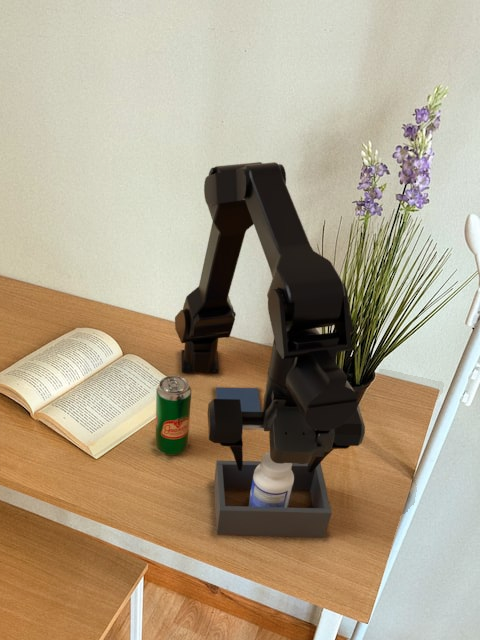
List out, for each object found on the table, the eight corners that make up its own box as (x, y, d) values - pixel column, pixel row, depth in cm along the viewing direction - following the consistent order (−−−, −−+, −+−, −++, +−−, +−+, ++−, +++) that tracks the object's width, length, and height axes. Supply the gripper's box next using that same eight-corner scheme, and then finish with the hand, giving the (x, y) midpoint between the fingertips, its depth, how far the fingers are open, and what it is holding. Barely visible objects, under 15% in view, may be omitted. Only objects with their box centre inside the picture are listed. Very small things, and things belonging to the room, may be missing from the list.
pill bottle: (260, 490, 101) (269, 441, 94) (293, 507, 98) (305, 457, 91) (240, 512, 98) (248, 462, 91) (273, 530, 95) (284, 481, 89)
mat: (215, 389, 118) (216, 387, 117) (257, 390, 117) (257, 388, 117) (217, 416, 113) (218, 413, 113) (261, 416, 113) (261, 414, 112)
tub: (213, 484, 102) (216, 460, 98) (314, 487, 101) (320, 462, 98) (216, 534, 95) (219, 510, 92) (324, 537, 94) (331, 513, 91)
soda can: (161, 460, 106) (162, 398, 97) (151, 439, 109) (152, 377, 101) (192, 453, 107) (196, 391, 98) (181, 432, 110) (184, 371, 102)
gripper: (216, 417, 76) (206, 512, 87) (388, 421, 75) (356, 516, 86) (212, 358, 84) (203, 452, 95) (368, 360, 83) (341, 455, 94)
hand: (274, 469), depth 93 cm, fingers open, 9 cm apart
